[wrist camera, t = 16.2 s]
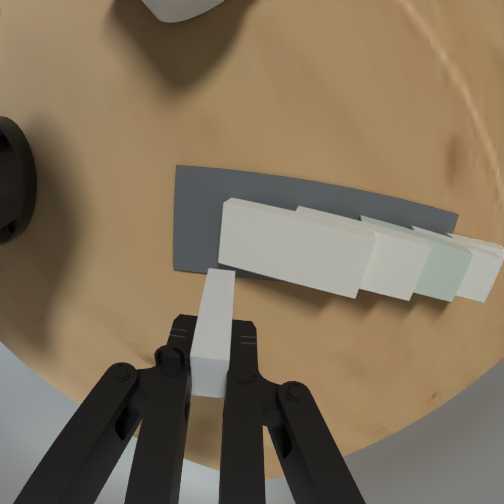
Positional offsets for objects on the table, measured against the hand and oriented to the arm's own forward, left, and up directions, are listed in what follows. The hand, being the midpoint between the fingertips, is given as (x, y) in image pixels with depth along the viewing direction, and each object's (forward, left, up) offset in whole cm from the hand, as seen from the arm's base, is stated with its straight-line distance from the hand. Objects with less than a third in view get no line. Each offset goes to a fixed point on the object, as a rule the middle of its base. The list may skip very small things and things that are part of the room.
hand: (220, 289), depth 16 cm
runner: (+9, 0, -10) cm, 14 cm away
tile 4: (+17, 0, -9) cm, 19 cm away
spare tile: (+11, 0, -9) cm, 14 cm away
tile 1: (0, 0, -9) cm, 9 cm away
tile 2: (+5, 0, -9) cm, 10 cm away
